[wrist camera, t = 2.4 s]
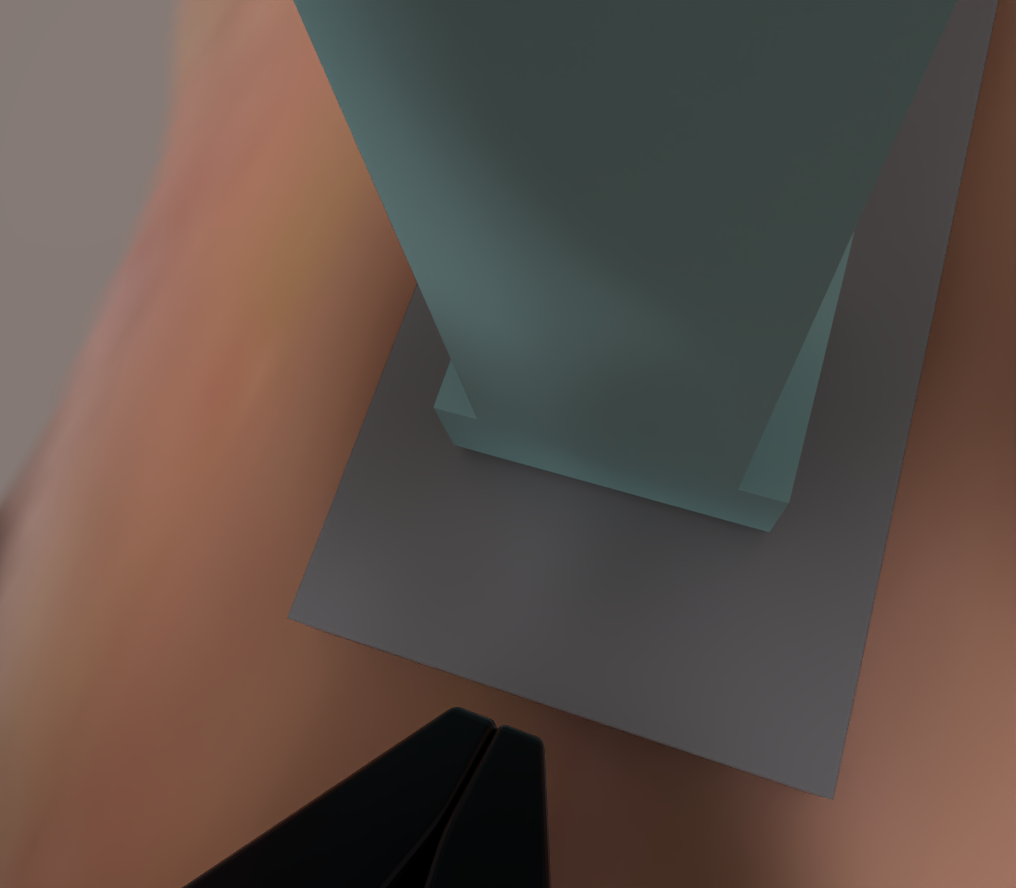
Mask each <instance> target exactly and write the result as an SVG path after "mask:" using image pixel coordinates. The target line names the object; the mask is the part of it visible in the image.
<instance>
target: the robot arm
mask: <svg viewBox="0 0 1016 888" xmlns="http://www.w3.org/2000/svg"><path fill="white" fill-rule="evenodd" d="M182 888H551V872H550V852H549V831H548V810H547V790H546V769H545V749H544V744H543V742H542V740H541V739H540V738H538V737H536V736H534V735H531V734H528V733H526V732H523V731H521V730H518V729H515V728H513V727H510V726H508V725H502V726H500V727H499V728H498V729H497V726H496V724H495V722H494V721H493V720H491V719H489V718H487V717H484V716H482V715H479V714H476V713H474V712H471V711H468V710H466V709H463V708H460V707H455V708H451V709H449V710H447V711H446V712H444V713H443V714H441V715H440V716H438V717H437V718H435V719H434V720H432V721H431V722H429V723H428V724H426V725H425V726H423V727H422V728H420V729H419V730H417V731H416V732H414V733H413V734H411V735H410V736H408V737H407V738H405V739H404V740H402V741H401V742H399V743H398V744H396V745H395V746H393V747H392V748H390V749H389V750H387V751H386V752H384V753H383V754H381V755H380V756H378V757H377V758H375V759H374V760H372V761H371V762H369V763H368V764H366V765H365V766H363V767H362V768H361V769H359V770H358V771H356V772H355V773H353V774H352V775H350V776H349V777H347V778H346V779H344V780H343V781H341V782H340V783H338V784H337V785H335V786H334V787H332V788H331V789H329V790H328V791H326V792H325V793H323V794H322V795H320V796H319V797H317V798H316V799H314V800H313V801H311V802H310V803H308V804H307V805H305V806H304V807H302V808H301V809H299V810H298V811H296V812H295V813H293V814H292V815H290V816H289V817H287V818H286V819H284V820H283V821H281V822H280V823H278V824H277V825H275V826H274V827H272V828H271V829H269V830H268V831H266V832H265V833H263V834H262V835H260V836H259V837H257V838H256V839H254V840H253V841H251V842H250V843H248V844H247V845H245V846H244V847H242V848H241V849H239V850H238V851H236V852H235V853H233V854H232V855H230V856H229V857H227V858H226V859H224V860H223V861H221V862H220V863H218V864H217V865H215V866H214V867H212V868H211V869H209V870H208V871H206V872H205V873H203V874H202V875H200V876H199V877H197V878H196V879H194V880H193V881H191V882H190V883H188V884H187V885H185V886H184V887H182Z"/></svg>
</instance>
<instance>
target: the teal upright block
mask: <svg viewBox="0 0 1016 888" xmlns="http://www.w3.org/2000/svg"><path fill="white" fill-rule="evenodd" d="M956 2H957V0H294V3H295V5H296V7H297V9H298V12H299V14H300V16H301V19H302V21H303V23H304V25H305V28H306V30H307V32H308V35H309V37H310V39H311V41H312V44H313V46H314V48H315V51H316V53H317V55H318V57H319V60H320V62H321V64H322V66H323V69H324V71H325V73H326V76H327V78H328V80H329V82H330V85H331V87H332V89H333V92H334V94H335V96H336V98H337V101H338V103H339V105H340V107H341V110H342V112H343V114H344V117H345V119H346V121H347V123H348V126H349V128H350V130H351V133H352V135H353V137H354V139H355V142H356V144H357V146H358V149H359V151H360V153H361V155H362V158H363V160H364V162H365V164H366V167H367V169H368V171H369V174H370V176H371V178H372V180H373V183H374V185H375V187H376V190H377V192H378V194H379V196H380V199H381V201H382V203H383V206H384V208H385V210H386V212H387V215H388V217H389V219H390V221H391V224H392V226H393V228H394V231H395V233H396V235H397V237H398V240H399V242H400V244H401V247H402V249H403V251H404V253H405V256H406V258H407V260H408V263H409V265H410V267H411V269H412V272H413V274H414V276H415V278H416V281H417V283H418V285H419V288H420V290H421V292H422V294H423V297H424V299H425V301H426V304H427V306H428V308H429V310H430V313H431V315H432V317H433V320H434V322H435V324H436V326H437V329H438V331H439V333H440V335H441V338H442V340H443V342H444V345H445V347H446V349H447V351H448V354H449V356H450V358H451V361H450V363H449V366H448V369H447V372H446V374H445V377H444V380H443V382H442V385H441V388H440V391H439V393H438V396H437V399H436V402H435V404H434V407H433V408H434V410H435V412H436V413H437V415H438V417H439V419H440V421H441V423H442V424H443V426H444V428H445V430H446V432H447V433H448V435H449V437H450V439H451V441H452V442H453V444H454V445H456V446H459V447H463V448H467V449H470V450H474V451H478V452H481V453H485V454H488V455H492V456H496V457H499V458H503V459H506V460H510V461H514V462H517V463H521V464H524V465H528V466H532V467H535V468H539V469H543V470H546V471H550V472H553V473H557V474H561V475H564V476H568V477H571V478H575V479H579V480H582V481H586V482H589V483H593V484H597V485H600V486H604V487H608V488H611V489H615V490H618V491H622V492H626V493H629V494H633V495H636V496H640V497H644V498H647V499H651V500H654V501H658V502H662V503H665V504H669V505H673V506H676V507H680V508H683V509H687V510H691V511H694V512H698V513H701V514H705V515H709V516H712V517H716V518H720V519H723V520H727V521H730V522H734V523H738V524H741V525H745V526H748V527H752V528H756V529H759V530H763V531H766V532H770V531H771V529H772V528H773V526H774V525H775V523H776V522H777V520H778V519H779V517H780V516H781V514H782V513H783V511H784V510H785V509H786V507H787V506H788V504H789V501H790V497H791V493H792V489H793V485H794V481H795V477H796V472H797V468H798V464H799V460H800V456H801V452H802V447H803V443H804V439H805V435H806V431H807V427H808V423H809V418H810V414H811V410H812V406H813V402H814V398H815V393H816V389H817V385H818V381H819V377H820V373H821V369H822V364H823V360H824V356H825V352H826V348H827V344H828V339H829V335H830V331H831V327H832V323H833V319H834V315H835V310H836V306H837V302H838V298H839V294H840V290H841V285H842V281H843V277H844V273H845V269H846V265H847V261H848V256H849V252H850V248H851V244H852V240H853V236H854V230H855V228H856V225H857V223H858V221H859V219H860V216H861V214H862V212H863V210H864V207H865V205H866V203H867V201H868V199H869V196H870V194H871V192H872V190H873V187H874V185H875V183H876V181H877V178H878V176H879V174H880V172H881V170H882V167H883V165H884V163H885V161H886V158H887V156H888V154H889V152H890V149H891V147H892V145H893V143H894V141H895V138H896V136H897V134H898V132H899V129H900V127H901V125H902V123H903V120H904V118H905V116H906V114H907V112H908V109H909V107H910V105H911V103H912V100H913V98H914V96H915V94H916V91H917V89H918V87H919V85H920V83H921V80H922V78H923V76H924V74H925V71H926V69H927V67H928V65H929V62H930V60H931V58H932V56H933V54H934V51H935V49H936V47H937V45H938V42H939V40H940V38H941V36H942V33H943V31H944V29H945V27H946V25H947V22H948V20H949V18H950V16H951V13H952V11H953V9H954V7H955V4H956Z"/></svg>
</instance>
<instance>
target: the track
mask: <svg viewBox="0 0 1016 888" xmlns="http://www.w3.org/2000/svg"><path fill="white" fill-rule="evenodd" d="M997 4H998V0H957V2H956V4H955V7H954V9H953V11H952V13H951V16H950V18H949V20H948V22H947V25H946V27H945V29H944V31H943V33H942V36H941V38H940V40H939V42H938V45H937V47H936V49H935V51H934V54H933V56H932V58H931V60H930V62H929V65H928V67H927V69H926V71H925V74H924V76H923V78H922V80H921V83H920V85H919V87H918V89H917V91H916V94H915V96H914V98H913V100H912V103H911V105H910V107H909V109H908V112H907V114H906V116H905V118H904V120H903V123H902V125H901V127H900V129H899V132H898V134H897V136H896V138H895V141H894V143H893V145H892V147H891V149H890V152H889V154H888V156H887V158H886V161H885V163H884V165H883V167H882V170H881V172H880V174H879V176H878V178H877V181H876V183H875V185H874V187H873V190H872V192H871V194H870V196H869V199H868V201H867V203H866V205H865V207H864V210H863V212H862V214H861V216H860V219H859V221H858V223H857V225H856V228H855V230H854V236H853V240H852V244H851V248H850V252H849V256H848V261H847V265H846V269H845V273H844V277H843V281H842V285H841V290H840V294H839V298H838V302H837V306H836V310H835V315H834V319H833V323H832V327H831V331H830V335H829V339H828V344H827V348H826V352H825V356H824V360H823V364H822V369H821V373H820V377H819V381H818V385H817V389H816V393H815V398H814V402H813V406H812V410H811V414H810V418H809V423H808V427H807V431H806V435H805V439H804V443H803V447H802V452H801V456H800V460H799V464H798V468H797V472H796V477H795V481H794V485H793V489H792V493H791V497H790V501H789V504H788V506H787V507H786V509H785V510H784V511H783V513H782V514H781V516H780V517H779V519H778V520H777V522H776V523H775V525H774V526H773V528H772V529H771V531H770V532H766V531H763V530H759V529H756V528H752V527H748V526H745V525H741V524H738V523H734V522H730V521H727V520H723V519H720V518H716V517H712V516H709V515H705V514H701V513H698V512H694V511H691V510H687V509H683V508H680V507H676V506H673V505H669V504H665V503H662V502H658V501H654V500H651V499H647V498H644V497H640V496H636V495H633V494H629V493H626V492H622V491H618V490H615V489H611V488H608V487H604V486H600V485H597V484H593V483H589V482H586V481H582V480H579V479H575V478H571V477H568V476H564V475H561V474H557V473H553V472H550V471H546V470H543V469H539V468H535V467H532V466H528V465H524V464H521V463H517V462H514V461H510V460H506V459H503V458H499V457H496V456H492V455H488V454H485V453H481V452H478V451H474V450H470V449H467V448H463V447H459V446H456V445H454V444H453V442H452V441H451V439H450V437H449V435H448V433H447V432H446V430H445V428H444V426H443V424H442V423H441V421H440V419H439V417H438V415H437V413H436V412H435V410H434V408H433V407H434V404H435V402H436V399H437V396H438V393H439V391H440V388H441V385H442V382H443V380H444V377H445V374H446V372H447V369H448V366H449V363H450V361H451V358H450V356H449V354H448V351H447V349H446V347H445V345H444V342H443V340H442V338H441V335H440V333H439V331H438V329H437V326H436V324H435V322H434V320H433V317H432V315H431V313H430V310H429V308H428V306H427V304H426V301H425V299H424V297H423V294H422V292H421V290H420V288H419V285H418V283H417V285H416V288H415V290H414V293H413V296H412V298H411V301H410V303H409V306H408V308H407V311H406V314H405V316H404V319H403V321H402V324H401V326H400V329H399V332H398V334H397V337H396V339H395V342H394V345H393V347H392V350H391V352H390V355H389V357H388V360H387V363H386V365H385V368H384V370H383V373H382V375H381V378H380V381H379V383H378V386H377V388H376V391H375V394H374V396H373V399H372V401H371V404H370V406H369V409H368V412H367V414H366V417H365V419H364V422H363V424H362V427H361V430H360V432H359V435H358V437H357V440H356V442H355V445H354V448H353V450H352V453H351V455H350V458H349V461H348V463H347V466H346V468H345V471H344V473H343V476H342V479H341V481H340V484H339V486H338V489H337V491H336V494H335V497H334V499H333V502H332V504H331V507H330V509H329V512H328V515H327V517H326V520H325V522H324V525H323V528H322V530H321V533H320V535H319V538H318V540H317V543H316V546H315V548H314V551H313V553H312V556H311V558H310V561H309V564H308V566H307V569H306V571H305V574H304V577H303V579H302V582H301V584H300V587H299V589H298V592H297V595H296V597H295V600H294V602H293V605H292V607H291V610H290V613H289V615H288V618H289V619H291V620H294V621H296V622H299V623H302V624H304V625H307V626H309V627H312V628H314V629H317V630H320V631H323V632H326V633H329V634H332V635H335V636H338V637H341V638H344V639H347V640H350V641H353V642H356V643H359V644H362V645H365V646H368V647H371V648H374V649H377V650H380V651H383V652H386V653H389V654H392V655H395V656H398V657H401V658H404V659H407V660H410V661H413V662H416V663H419V664H422V665H425V666H428V667H431V668H434V669H437V670H440V671H443V672H446V673H449V674H452V675H455V676H458V677H461V678H464V679H467V680H470V681H473V682H476V683H479V684H482V685H485V686H488V687H491V688H494V689H497V690H500V691H503V692H506V693H509V694H512V695H515V696H518V697H521V698H524V699H527V700H530V701H533V702H536V703H539V704H542V705H545V706H548V707H551V708H554V709H557V710H560V711H563V712H566V713H569V714H572V715H575V716H578V717H581V718H584V719H587V720H590V721H593V722H596V723H599V724H602V725H605V726H608V727H611V728H614V729H617V730H620V731H623V732H626V733H629V734H632V735H635V736H638V737H641V738H644V739H647V740H650V741H653V742H656V743H659V744H662V745H665V746H668V747H671V748H674V749H677V750H680V751H683V752H686V753H689V754H692V755H695V756H698V757H701V758H704V759H707V760H710V761H713V762H716V763H719V764H722V765H725V766H728V767H731V768H734V769H737V770H740V771H743V772H746V773H749V774H752V775H755V776H758V777H761V778H764V779H767V780H770V781H773V782H776V783H779V784H782V785H785V786H788V787H791V788H794V789H797V790H800V791H803V792H806V793H809V794H812V795H816V796H820V797H824V798H828V799H832V800H833V797H834V792H835V787H836V783H837V778H838V773H839V768H840V763H841V758H842V754H843V749H844V744H845V739H846V734H847V729H848V725H849V720H850V715H851V710H852V705H853V700H854V696H855V691H856V686H857V681H858V676H859V671H860V667H861V662H862V657H863V652H864V647H865V642H866V638H867V633H868V628H869V623H870V618H871V613H872V609H873V604H874V599H875V594H876V589H877V584H878V580H879V575H880V570H881V565H882V560H883V555H884V551H885V546H886V541H887V536H888V531H889V526H890V522H891V517H892V512H893V507H894V502H895V497H896V493H897V488H898V483H899V478H900V473H901V468H902V464H903V459H904V454H905V449H906V444H907V439H908V435H909V430H910V425H911V420H912V415H913V410H914V406H915V401H916V396H917V391H918V386H919V381H920V377H921V372H922V367H923V362H924V357H925V352H926V348H927V343H928V338H929V333H930V328H931V323H932V319H933V314H934V309H935V304H936V299H937V294H938V290H939V285H940V280H941V275H942V270H943V265H944V261H945V256H946V251H947V246H948V241H949V236H950V232H951V227H952V222H953V217H954V212H955V207H956V202H957V198H958V193H959V188H960V183H961V178H962V173H963V169H964V164H965V159H966V154H967V149H968V144H969V140H970V135H971V130H972V125H973V120H974V115H975V111H976V106H977V101H978V96H979V91H980V86H981V82H982V77H983V72H984V67H985V62H986V57H987V53H988V48H989V43H990V38H991V33H992V28H993V24H994V19H995V14H996V9H997Z"/></svg>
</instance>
